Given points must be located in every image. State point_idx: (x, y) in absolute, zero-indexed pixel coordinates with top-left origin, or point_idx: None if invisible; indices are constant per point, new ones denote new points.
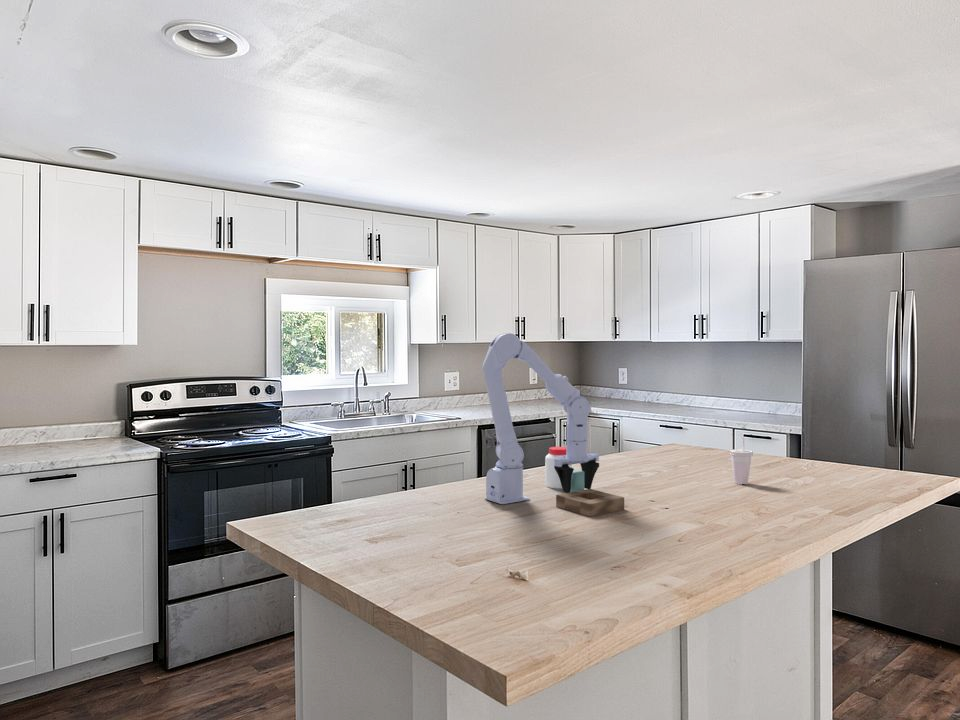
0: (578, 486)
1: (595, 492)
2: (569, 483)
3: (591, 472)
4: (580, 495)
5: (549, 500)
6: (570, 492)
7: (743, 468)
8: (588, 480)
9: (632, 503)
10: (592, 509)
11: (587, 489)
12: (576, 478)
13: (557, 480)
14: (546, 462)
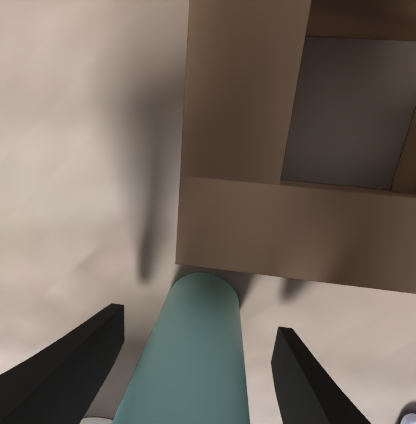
0: (223, 333)
1: (242, 159)
2: (324, 383)
3: (15, 416)
4: (383, 194)
5: (342, 354)
6: (382, 285)
7: None
8: (87, 357)
9: (54, 19)
10: None
11: (208, 262)
12: (238, 410)
13: None
14: None
